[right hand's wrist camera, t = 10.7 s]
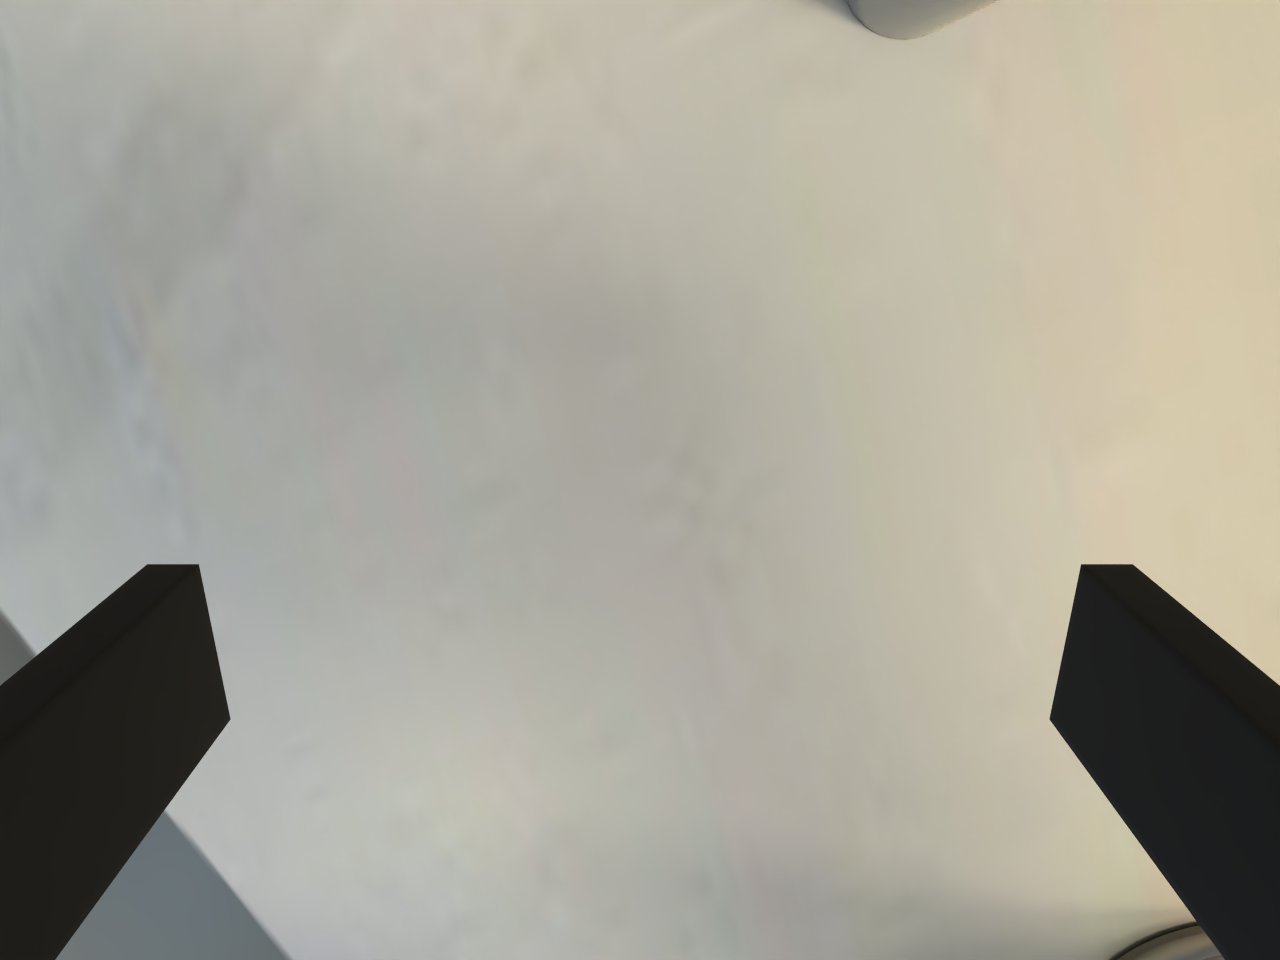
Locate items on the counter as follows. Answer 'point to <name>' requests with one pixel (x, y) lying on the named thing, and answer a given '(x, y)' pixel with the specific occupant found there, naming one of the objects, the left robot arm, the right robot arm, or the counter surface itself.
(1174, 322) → the counter surface
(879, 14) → the jar
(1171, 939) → the right robot arm
